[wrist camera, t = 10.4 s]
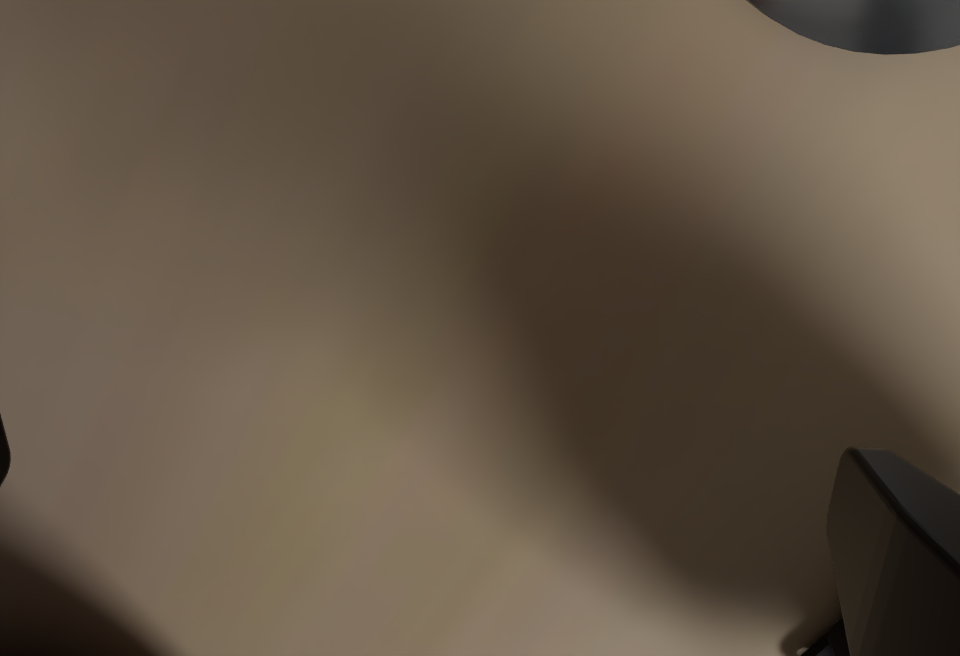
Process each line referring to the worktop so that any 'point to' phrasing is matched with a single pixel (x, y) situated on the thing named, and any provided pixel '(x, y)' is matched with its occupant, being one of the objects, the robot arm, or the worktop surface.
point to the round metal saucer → (870, 23)
